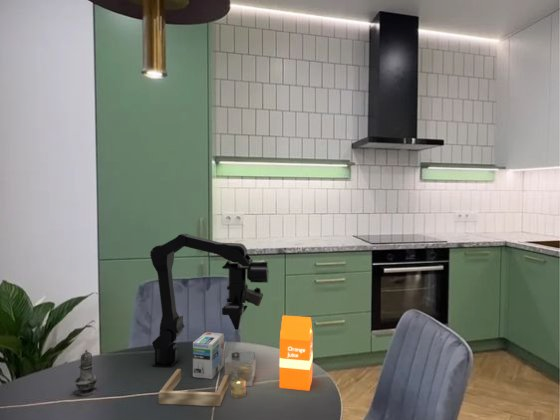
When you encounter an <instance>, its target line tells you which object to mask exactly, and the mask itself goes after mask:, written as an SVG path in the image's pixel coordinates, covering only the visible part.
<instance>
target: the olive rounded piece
mask: <svg viewBox="0 0 560 420" xmlns="http://www.w3.org/2000/svg"><path fill="white" fill-rule="evenodd" d="M230 386H231V391H230V393H231V394H230V396H231V395H232V396H231V397H232V398H234V399H242V398H244V397H246V394H247V392H246V389H247V386H246V379H245V378H242V377H236V378H233V379H232V380H231V385H230Z"/></svg>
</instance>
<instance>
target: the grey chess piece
mask: <svg viewBox="0 0 560 420" xmlns="http://www.w3.org/2000/svg"><path fill="white" fill-rule="evenodd" d="M93 366H94V363H93V354H92V353H91V352H89V351H88V349H85V351H84V352H83V353H82V354H81V355H80V365H79V366H78V367H79V371H80V373H79V377H77V378H75V379H74V384H75V386H76V388H77V390H76V392H75V396H77V397H88V396H91V395H93V394H95V393H96V392H97V390H98V389H97V388H96V387H95V385H96V383H97V380H98V378H99V377H98V375H97V374H94V373H93Z"/></svg>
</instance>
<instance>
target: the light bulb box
mask: <svg viewBox="0 0 560 420" xmlns="http://www.w3.org/2000/svg"><path fill="white" fill-rule="evenodd" d="M224 367H225V333H218V332H209V331H208V332H207V331H205V333H203V334H202V335H201V336H200V337H198V338H197V339H195V341H193V342H192V377H193V378H199V379H209V380H213V379H214V378H215V376H217V375H218V373H219V372H220V371H221V370H222V369H223V368H224Z"/></svg>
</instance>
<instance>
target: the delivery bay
mask: <svg viewBox="0 0 560 420" xmlns="http://www.w3.org/2000/svg"><path fill="white" fill-rule="evenodd" d="M181 380H182V369H181V368H177V369H176V370H175V371H174V373H173V374H172V375H171V376H170V377H169V379H168V380H167V381H166V382H165V384H164V385H163V386H162V388H161V389H160V391H159V392H158V404H159V405H180V406H182V405H183V406H206V407H220V406H221V404H222V401H223V400H224V397H225V394H226V393H227V390H228V388H229V386H230V385H229V375H225V374H224V376H223V377H222V380H221V382H220V385H219V386H218V388H217V391H216V392H215V391H213V392H211V391H209V392H208V391H190V390H189V391H185V390H183V391H182V390H174V389H175V388H176V387H177V385H178V384H179V383H180V381H181Z"/></svg>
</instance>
